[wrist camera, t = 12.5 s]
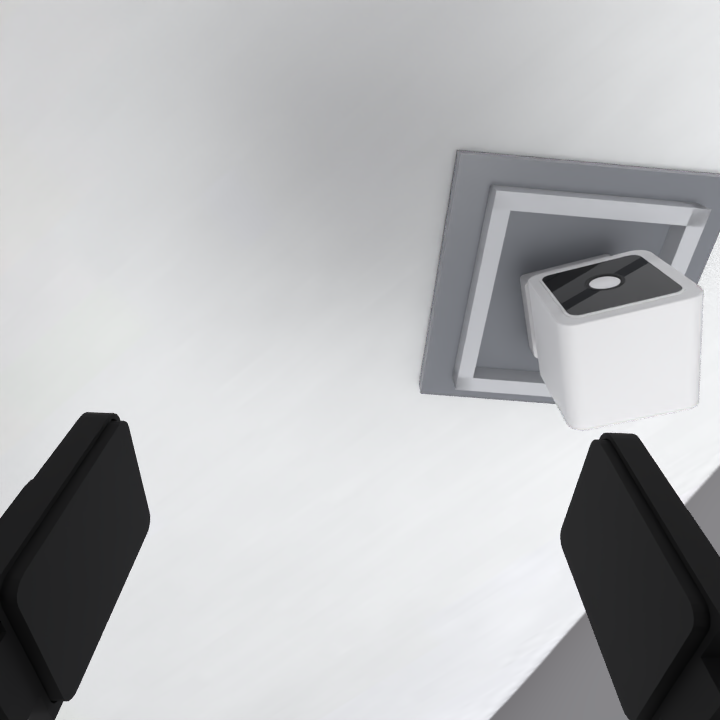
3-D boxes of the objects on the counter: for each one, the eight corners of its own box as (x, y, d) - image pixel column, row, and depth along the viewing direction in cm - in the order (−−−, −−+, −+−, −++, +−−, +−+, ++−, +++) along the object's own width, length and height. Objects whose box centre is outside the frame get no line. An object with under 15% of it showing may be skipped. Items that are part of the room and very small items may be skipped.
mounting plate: (457, 150, 30) (465, 158, 28) (729, 174, 31) (759, 184, 29) (419, 384, 38) (422, 405, 36) (635, 401, 39) (652, 423, 36)
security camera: (616, 226, 31) (711, 292, 23) (620, 329, 35) (705, 420, 26) (508, 254, 32) (560, 327, 24) (523, 351, 36) (572, 446, 27)
